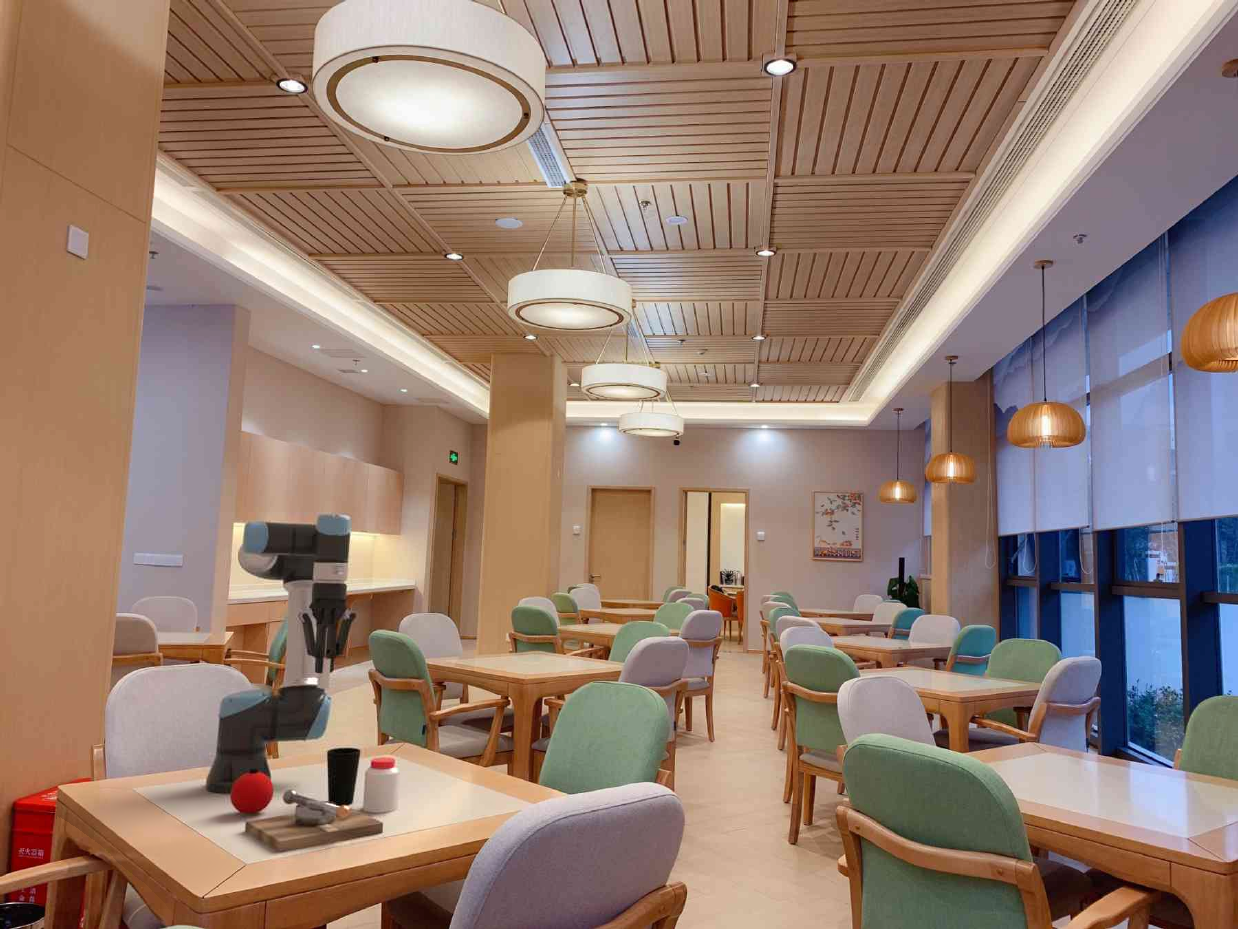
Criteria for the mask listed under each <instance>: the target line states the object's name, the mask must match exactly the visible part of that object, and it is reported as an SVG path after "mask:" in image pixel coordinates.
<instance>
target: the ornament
mask: <svg viewBox="0 0 1238 929" xmlns="http://www.w3.org/2000/svg"><path fill="white" fill-rule="evenodd" d="M273 795H274V785H273V782H272V779H271V780H270V779H269V777H268V776H266V775H265V774H263V773H260V772H258V768H257V767H253V768H250V773H246V774H244V775H242V776H241V777H240V778H238V780H237V781H236V782H235V783H234V785H233V787H232V789H231V793H230V802H231V804H232V806H233V808H235V811H236V810H237V811H238V812H239V813H241V814H243V815H255V814H258V813H260V812H262V811H264V810H265V809H266V808H267V807H268V806H269V804H270V803H271V801H272V800H273V797H274V796H273Z"/></svg>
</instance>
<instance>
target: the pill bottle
mask: <svg viewBox="0 0 1238 929" xmlns="http://www.w3.org/2000/svg"><path fill="white" fill-rule="evenodd" d="M399 783H400V769H399V768H398V767H397V766H396V759H395V758H394V757H385V756H384V757H383V756H382V757H376V758H375V757H374V758H372V759H371V760H370V767H368V768H367V769H366V770H365V771H364V786H363V787H364V788H363V789H364V790H363V807H362V810H363V812H367V813H374V814H381V813H382V814H383V813H384V814H385V813H390V812H394V811H395V810H397V809H398V801H399V786H400V784H399Z"/></svg>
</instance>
